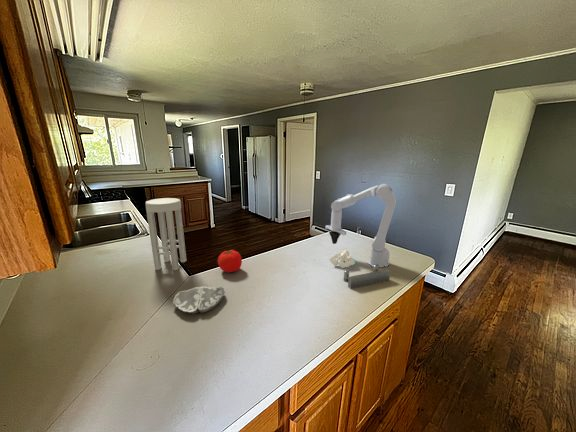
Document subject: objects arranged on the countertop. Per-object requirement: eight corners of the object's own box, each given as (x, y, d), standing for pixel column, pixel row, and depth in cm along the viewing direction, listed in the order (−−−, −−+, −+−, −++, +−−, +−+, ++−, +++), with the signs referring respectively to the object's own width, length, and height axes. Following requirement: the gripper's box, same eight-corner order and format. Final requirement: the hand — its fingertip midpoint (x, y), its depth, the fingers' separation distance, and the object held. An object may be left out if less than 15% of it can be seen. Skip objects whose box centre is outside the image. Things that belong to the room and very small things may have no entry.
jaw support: (351, 267, 121) (339, 251, 124) (339, 275, 126) (328, 259, 129) (360, 259, 130) (349, 245, 133) (349, 267, 136) (338, 253, 138)
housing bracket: (377, 272, 123) (378, 263, 121) (388, 280, 115) (390, 271, 114) (340, 279, 115) (341, 270, 114) (350, 288, 108) (351, 279, 106)
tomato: (244, 266, 127) (244, 246, 124) (238, 277, 116) (237, 256, 113) (223, 264, 128) (222, 245, 125) (214, 275, 117) (213, 254, 114)
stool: (179, 272, 120) (171, 204, 111) (148, 271, 120) (138, 203, 111) (191, 258, 135) (185, 198, 126) (164, 258, 135) (156, 197, 126)
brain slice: (169, 322, 86) (168, 315, 85) (177, 295, 101) (176, 289, 101) (225, 313, 91) (225, 307, 90) (224, 289, 106) (224, 283, 106)
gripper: (350, 223, 132) (348, 245, 136) (331, 217, 144) (330, 238, 147) (342, 225, 128) (340, 248, 132) (323, 218, 140) (322, 240, 143)
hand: (334, 243), depth 139 cm, fingers closed
